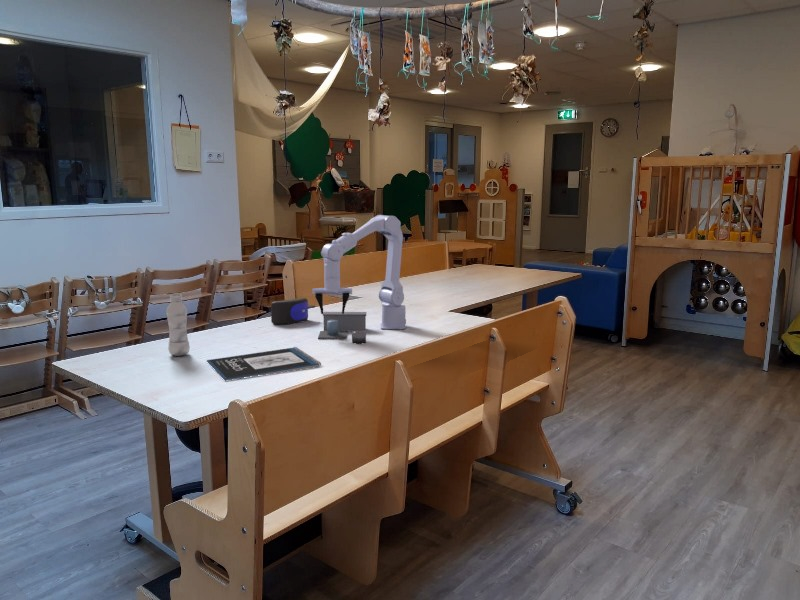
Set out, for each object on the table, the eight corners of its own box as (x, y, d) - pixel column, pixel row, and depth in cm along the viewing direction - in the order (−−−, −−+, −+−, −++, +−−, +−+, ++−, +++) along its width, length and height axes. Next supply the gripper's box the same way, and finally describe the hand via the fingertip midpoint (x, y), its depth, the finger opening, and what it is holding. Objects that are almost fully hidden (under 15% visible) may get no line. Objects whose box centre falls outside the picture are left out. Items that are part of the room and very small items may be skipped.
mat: (346, 332, 230) (346, 331, 230) (345, 339, 220) (345, 337, 220) (320, 332, 230) (320, 330, 229) (317, 339, 220) (317, 337, 220)
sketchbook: (206, 364, 191) (206, 357, 190) (296, 351, 206) (296, 345, 205) (224, 383, 172) (224, 376, 172) (322, 367, 188) (322, 361, 187)
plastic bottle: (178, 359, 193) (174, 297, 189) (164, 355, 197) (160, 295, 193) (194, 354, 198) (191, 294, 195) (180, 351, 202) (177, 292, 198)
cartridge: (339, 333, 226) (339, 320, 225) (335, 336, 222) (335, 322, 221) (330, 332, 227) (330, 319, 226) (325, 335, 223) (325, 321, 222)
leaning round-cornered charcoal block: (275, 326, 238) (275, 303, 236) (270, 324, 242) (269, 301, 240) (312, 321, 248) (311, 298, 246) (306, 319, 251) (306, 297, 250)
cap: (366, 340, 219) (366, 329, 218) (365, 344, 214) (365, 333, 213) (352, 340, 219) (352, 329, 218) (351, 344, 214) (351, 333, 213)
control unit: (366, 328, 237) (366, 311, 236) (366, 331, 232) (366, 314, 231) (323, 328, 237) (323, 311, 235) (322, 331, 232) (322, 314, 230)
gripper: (352, 275, 225) (352, 310, 228) (312, 275, 224) (313, 311, 227) (352, 278, 218) (352, 314, 221) (311, 278, 217) (312, 315, 220)
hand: (332, 313), depth 223 cm, fingers open, 7 cm apart
